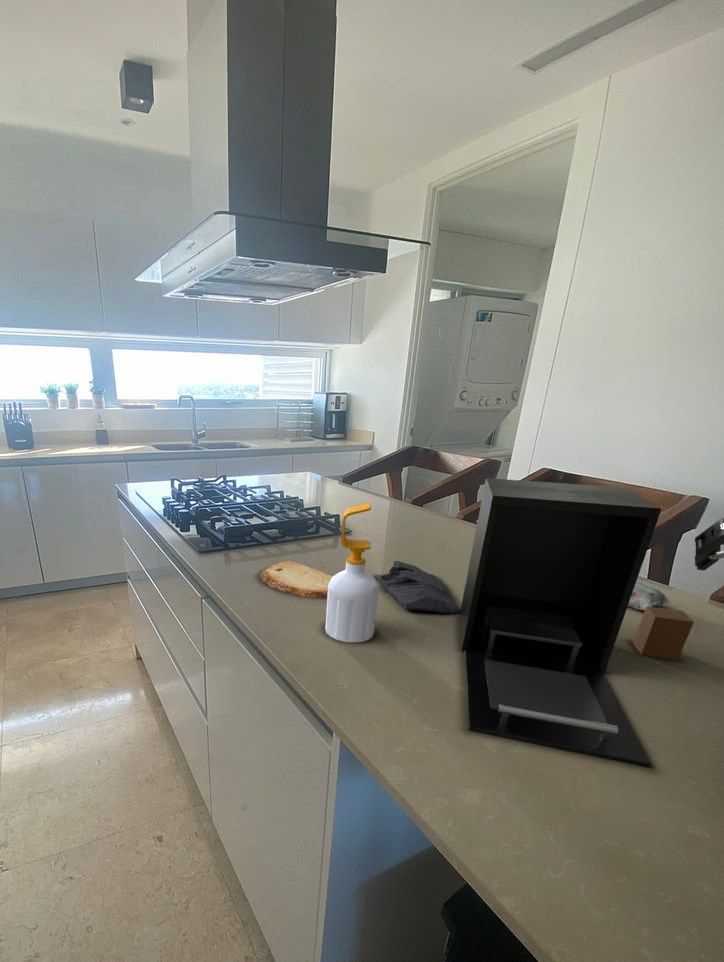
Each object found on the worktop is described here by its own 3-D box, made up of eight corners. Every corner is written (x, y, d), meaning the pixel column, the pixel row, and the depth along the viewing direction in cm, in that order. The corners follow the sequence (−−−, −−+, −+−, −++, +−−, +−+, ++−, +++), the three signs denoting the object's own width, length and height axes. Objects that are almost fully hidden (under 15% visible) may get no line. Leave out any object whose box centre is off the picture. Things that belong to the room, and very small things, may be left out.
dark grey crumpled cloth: (393, 616, 99) (395, 595, 97) (372, 577, 119) (374, 558, 117) (467, 617, 99) (472, 596, 97) (434, 578, 119) (437, 559, 117)
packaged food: (645, 619, 100) (653, 597, 98) (588, 598, 109) (594, 577, 107) (667, 611, 103) (675, 590, 101) (610, 592, 113) (617, 572, 111)
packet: (666, 650, 88) (682, 610, 85) (676, 663, 84) (694, 621, 81) (631, 645, 89) (646, 606, 86) (640, 657, 86) (655, 616, 82)
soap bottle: (373, 647, 87) (389, 512, 77) (323, 642, 89) (332, 509, 79) (373, 625, 95) (387, 500, 85) (327, 620, 97) (335, 497, 87)
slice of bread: (349, 598, 107) (350, 582, 105) (268, 602, 104) (268, 586, 103) (328, 569, 123) (329, 555, 121) (258, 572, 120) (258, 558, 119)
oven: (580, 634, 93) (625, 487, 82) (652, 772, 60) (746, 558, 48) (459, 616, 99) (486, 478, 88) (464, 733, 66) (508, 534, 55)
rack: (562, 635, 90) (568, 616, 89) (575, 665, 81) (582, 644, 79) (482, 623, 94) (486, 605, 93) (485, 650, 85) (490, 630, 83)
